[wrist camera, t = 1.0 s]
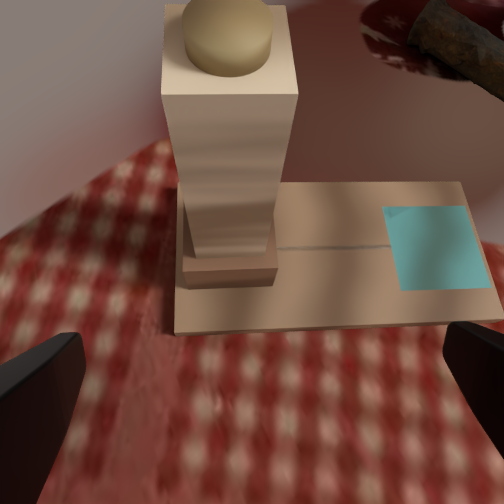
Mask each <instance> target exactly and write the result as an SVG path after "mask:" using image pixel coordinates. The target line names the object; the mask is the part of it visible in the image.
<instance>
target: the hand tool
mask: <svg viewBox="0 0 504 504" xmlns="http://www.w3.org/2000/svg"><path fill="white" fill-rule="evenodd" d="M407 45H417V46H418V47H419V50H420V53H421V54H424V53H430V54H431V55H433V56H434V57H436V58H438V59H439V60H441V61H442V62H444V63H445V64H447V65H449V66H450V67H452V68H453V69H455V70H456V71H458V72H459V73H461V74H462V75H464V76H465V77H467V78H468V79H470V80H471V81H472V82H473V83H474V84H477V85H478V86H480V87H482V88H483V89H485V90H486V91H488V92H489V93H490V94H492V95H494V96H495V97H497V98H499V99H500V100H502V101H503V102H504V41H502V40H500V39H499V38H497V37H496V36H494V35H492V34H491V33H490V32H489V31H488V30H487V29H485V28H483V27H481V26H479V25H477V24H476V23H475V22H472V21H471V20H470V19H469V18H468V17H466V16H464V15H462V14H461V13H459V12H457V11H456V10H454V9H452V8H450V6H449V5H448V4H447V2H446V1H445V0H430V1H429V2H428V3H427V4H426V6H425V8H424V9H423V10H422V12H421V13H420V14H419V16H418V17H417V19H416V20H415V22H414V24H413V26H412V28H411V30H410V33H409V36H408V39H407Z"/></svg>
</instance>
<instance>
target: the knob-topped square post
mask: <svg viewBox="0 0 504 504" xmlns="http://www.w3.org/2000/svg"><path fill="white" fill-rule="evenodd" d="M162 65H163V66H162V86H161V96H162V101H163V106H164V110H165V115H166V120H167V124H168V129H169V134H170V138H171V143H172V148H173V152H174V157H175V162H176V166H177V171H178V176H179V180H180V185H181V190H182V194H183V199H184V204H183V274H184V277H185V280H186V283H187V287H188V290H194V289H218V288H241V287H265V286H273V284H274V281H275V278H276V274H277V271H278V268H279V267H278V257H277V246H276V236H275V226H274V215H273V213H274V208H275V203H276V198H277V194H278V189H279V184H280V179H281V174H282V170H283V165H284V160H285V155H286V151H287V146H288V141H289V136H290V132H291V127H292V122H293V117H294V113H295V108H296V103H297V98H298V88H297V81H296V74H295V67H294V62H293V54H292V47H291V41H290V34H289V27H288V20H287V14H286V7H285V5H266V4H265V3H263V2H262V1H261V0H191V1H190V2H189V3H188V4H165V22H164V45H163V64H162Z"/></svg>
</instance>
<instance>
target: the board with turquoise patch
mask: <svg viewBox="0 0 504 504" xmlns="http://www.w3.org/2000/svg"><path fill="white" fill-rule="evenodd" d="M183 204H184V199H183V194H182V190H181V185H180V183H178V193H177V235H176V277H175V319H174V333H175V335H176V336H194V335H218V334H241V333H265V332H288V331H311V330H335V329H358V328H382V327H405V326H429V325H449V323H450V322H452V321H470V322H472V323H495V322H498V321H501V320H504V312H503V309H502V306H501V303H500V300H499V297H498V294H497V291H496V288H495V285H494V282H493V279H492V276H491V273H490V270H489V267H488V264H487V261H486V258H485V255H484V252H483V249H482V246H481V243H480V240H479V237H478V234H477V231H476V228H475V225H474V222H473V219H472V216H471V213H470V210H469V207H468V204H467V201H466V198H465V195H464V192H463V189H462V186H461V183H460V182H280V184H279V189H278V194H277V198H276V203H275V208H274V213H273V215H274V226H275V236H276V246H277V257H278V267H279V268H278V271H277V274H276V278H275V281H274V284H273V286H265V287H241V288H218V289H194V290H188V287H187V283H186V280H185V277H184V274H183Z"/></svg>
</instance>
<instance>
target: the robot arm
mask: <svg viewBox="0 0 504 504" xmlns="http://www.w3.org/2000/svg"><path fill="white" fill-rule="evenodd" d="M443 357H444V360H445V362H446V364H447V366H448V367H449V369H450V371H451V373H452V375H453V377H454V379H455V381H456V382H457V384H458V386H459V388H460V390H461V392H462V394H463V396H464V397H465V399H466V401H467V403H468V405H469V407H470V408H471V410H472V412H473V414H474V415H475V417H476V418H477V420H478V421H479V423H480V424H481V426H482V427H483V429H484V431H485V432H486V434H487V435H488V437H489V438H490V440H491V441H492V443H493V444H494V446H495V447H496V449H497V450H498V452H499V453H500V455H501V456H502V458H503V459H504V334H502V333H500V332H497V331H494V330H491V329H489V328H486V327H483V326H481V325H478V324H475V323H472V322H470V321H452V322H450V323H449V325H448V327H447V331H446V336H445V340H444V345H443ZM85 370H86V360H85V353H84V347H83V341H82V337H81V335H80V334H79V333H77V332H68V333H60V334H58V335H56V336H54V337H52V338H50V339H48V340H47V341H45V342H43V343H41V344H39V345H37V346H35V347H34V348H32V349H30V350H28V351H26V352H24V353H22V354H20V355H19V356H17V357H15V358H13V359H11V360H9V361H7V362H6V363H4V364H2V365H0V504H36V503H37V501H38V498H39V496H40V494H41V491H42V489H43V487H44V484H45V482H46V480H47V478H48V475H49V473H50V471H51V468H52V466H53V464H54V461H55V459H56V457H57V454H58V452H59V450H60V447H61V445H62V443H63V440H64V438H65V435H66V433H67V430H68V427H69V424H70V421H71V418H72V414H73V411H74V408H75V404H76V401H77V398H78V394H79V391H80V388H81V385H82V381H83V378H84V375H85Z"/></svg>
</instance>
